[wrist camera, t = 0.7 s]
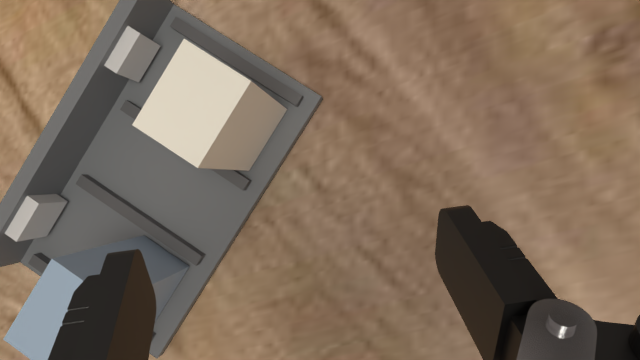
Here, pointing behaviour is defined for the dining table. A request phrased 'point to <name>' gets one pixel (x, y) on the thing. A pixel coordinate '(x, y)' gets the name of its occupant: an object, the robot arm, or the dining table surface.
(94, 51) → the tray
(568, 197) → the dining table surface
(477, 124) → the dining table surface
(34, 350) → the slate blue key
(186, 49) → the ivory key
